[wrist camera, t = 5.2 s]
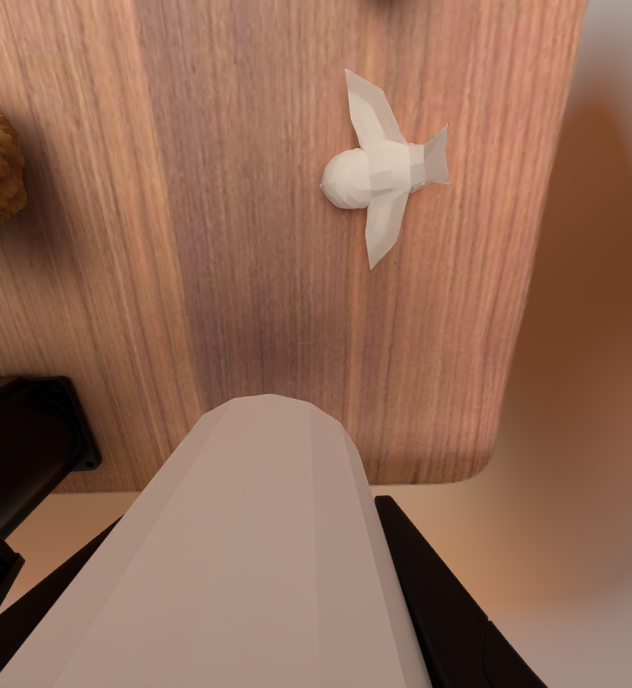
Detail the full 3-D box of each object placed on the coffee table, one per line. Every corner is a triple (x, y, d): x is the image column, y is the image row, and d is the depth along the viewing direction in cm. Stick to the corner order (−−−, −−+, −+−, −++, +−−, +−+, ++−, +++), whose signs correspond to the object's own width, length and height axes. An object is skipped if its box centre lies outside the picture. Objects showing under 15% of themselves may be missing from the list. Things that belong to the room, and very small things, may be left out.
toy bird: (293, 85, 14) (341, 15, 9) (389, 78, 15) (469, 13, 11) (326, 276, 17) (374, 288, 12) (404, 256, 18) (472, 260, 14)
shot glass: (396, 380, 9) (599, 798, 3) (367, 555, 12) (432, 994, 5) (146, 366, 9) (-314, 767, 2) (170, 545, 11) (-26, 984, 5)
